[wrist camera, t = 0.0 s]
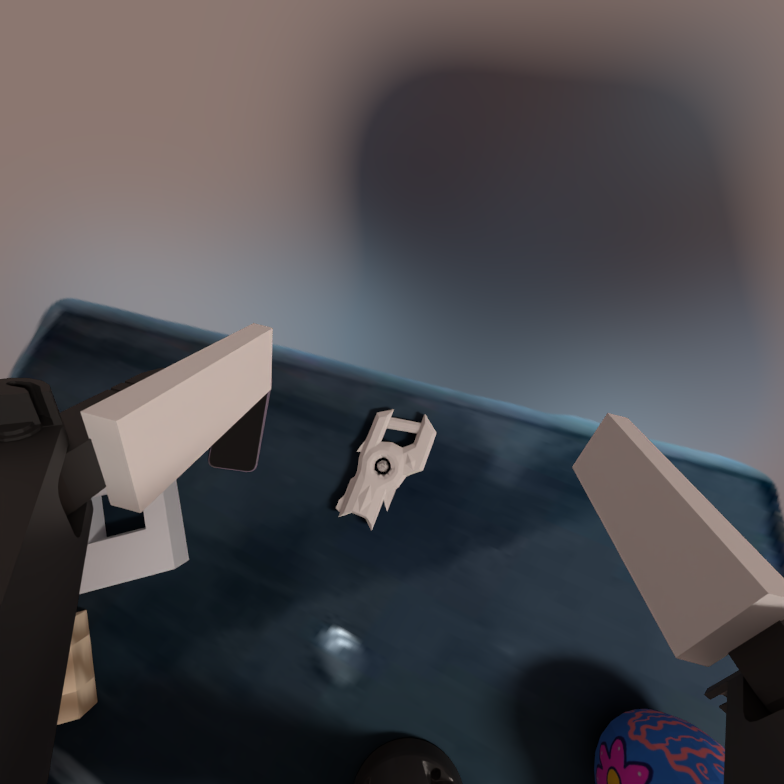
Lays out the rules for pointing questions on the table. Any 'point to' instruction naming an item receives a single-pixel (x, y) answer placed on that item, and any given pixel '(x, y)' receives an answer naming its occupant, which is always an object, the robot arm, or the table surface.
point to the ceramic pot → (656, 751)
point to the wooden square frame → (78, 674)
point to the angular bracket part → (385, 465)
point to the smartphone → (241, 440)
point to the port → (135, 544)
